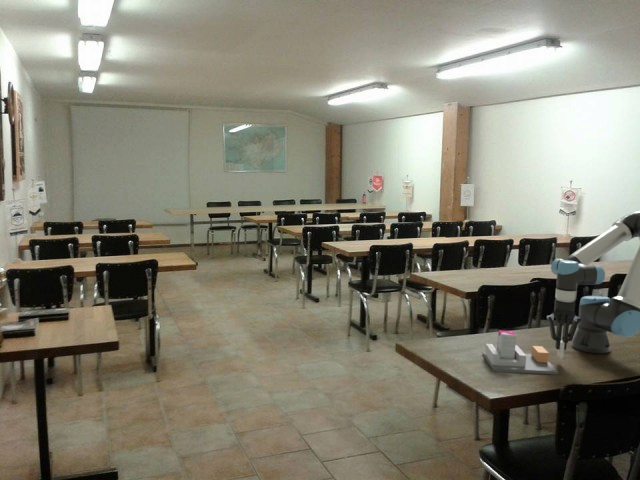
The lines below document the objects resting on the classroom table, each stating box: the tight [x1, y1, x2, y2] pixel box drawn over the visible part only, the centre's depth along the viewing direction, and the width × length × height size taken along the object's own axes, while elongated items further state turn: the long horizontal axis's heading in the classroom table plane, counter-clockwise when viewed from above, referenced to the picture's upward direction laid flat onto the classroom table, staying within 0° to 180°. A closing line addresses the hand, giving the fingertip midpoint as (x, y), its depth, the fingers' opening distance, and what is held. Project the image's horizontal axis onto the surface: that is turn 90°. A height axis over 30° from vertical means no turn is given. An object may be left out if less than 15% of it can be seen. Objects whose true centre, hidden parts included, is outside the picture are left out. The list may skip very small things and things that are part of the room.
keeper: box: [530, 345, 550, 363], centre depth 218 cm, size 4×8×4 cm, turn 176°
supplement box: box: [496, 329, 517, 360], centre depth 216 cm, size 6×6×12 cm
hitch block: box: [482, 343, 559, 375], centre depth 216 cm, size 24×19×6 cm
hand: (560, 357), depth 218 cm, fingers closed
